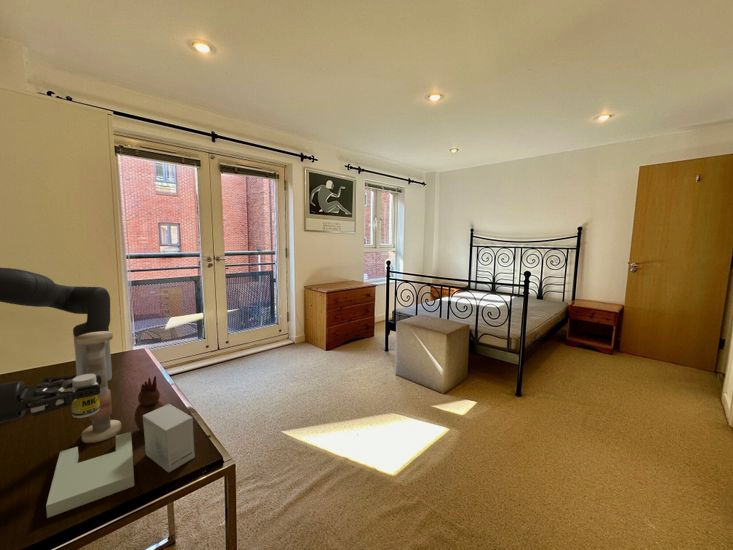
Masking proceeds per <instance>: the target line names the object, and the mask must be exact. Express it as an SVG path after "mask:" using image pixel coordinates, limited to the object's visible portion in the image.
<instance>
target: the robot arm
mask: <svg viewBox="0 0 733 550" xmlns="http://www.w3.org/2000/svg"><path fill="white" fill-rule="evenodd" d="M0 303H5V304H10V305H16V306H25V307H35V308H38V307H39V308H40V307H41V308H43V307H44V308H45V307H46V308H53V309H57V310H60V311H63V312H67V313H71V314H75V315H86V321H85V322H83V323H80V324H77V325H75V326H74V327H73V329H72V335H73V345H74V346H73V347H74V354H75V355H74V357H75V369H76V370H75V371H76V375H75V374H74V375H65V376H55V377H45V378H43V379H42V383H39V384H36V385H33V386H29V387H27V386H26V383H25V382H24V381H21V380H19V381H18V380H17V381H12V382H6V383H0V424H2V423H7V422H11V421H16V420H20V419H21V418H23V417H24V416H25V414H26V412H27V411H30V416H31V417H35V416H40V415H43V414H46V413H49V412H53V411H56V410H57V411H58V410H59V409H64V408H68V407H70V406H71V405H72V402H74V401H76V400H77V399H80V398H85V397H90V396H95V395H98V394H100V385H101V383H102V379H101V376H100V375H98V376H96V382H97V383H98V384H96V385H91V386H85V387H80V388H77V390H76V389H71V388H72V387H73V386H72V380H73V378H75V377H77V376H80V375H84V374H88V366H87V353H86V345H79V344H77V343H76V337H77V336H79V335H82V334H86V333H91V332H99V331H109V332H110V330H109V327H110V324H111V295H110V293H109V291H108V290H107V289H106V288H104V287H100V286H71V285H63V284H58V283H55V282H54V280H53V279H51V278H50V277H48V276H45V275H43V274H40V273H36V272H32V271H28V270H24V269H20V268H19V269H17V268H11V267H0ZM105 355H106V369H107V382H109V381H111V380H112V378H113V369H112V358H111V357H112V355H111V340H109V341H106V342H105Z"/></svg>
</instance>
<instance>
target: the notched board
mask: <svg viewBox="0 0 733 550" xmlns="http://www.w3.org/2000/svg"><path fill="white" fill-rule="evenodd" d="M132 443H133V441H132V431H128V432H125V433H121V434H118V435H117V434H116V435H115V451H112V452H109V453H106V454H103V455H99V456H96V457H93V458H89V459H87V460H83V461H79V456H80V455H79V446H75V447H72V448H68V449H65V450H60V451H59V455H58V459H57V462H56V466H55V470H54V475H53V478H52V481H51V485H50V490H49V493H48V497H47V502H46V505H45V509H46V518H47V519H48V518H50V517H51V518H52V517H54V516H56V515H59V514H62V513H64V512H68V511H70V510H73V509H77V508H78V507H80V506H84V505H86V504H90V503H92V502H95V501H98V500H100V499H103V498H105V497H107V496H111V495H114V494H115V493H116V494H117V493H118V492H122V491H124V490H127V489H129V488H132V487H135V475H134V474H135V473H134V472H135V471H134V460H133V444H132Z"/></svg>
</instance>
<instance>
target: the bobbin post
mask: <svg viewBox="0 0 733 550" xmlns="http://www.w3.org/2000/svg"><path fill="white" fill-rule="evenodd" d="M113 338H114V336H113V332H112V331H110V330H109V331H99V332H91V333H86V334H82V335H79V336H77V337H76V343H77V344H79V345H86V353H87V366H88V374H95V375H96V376H98V375H100V376H101V379H102V383H101V385H100V394H99V403H100V409H99V411H98V412H96V413H95V414H93V415H91V416H88V419H89V420H90V421H91V425H89V426H88V427H86V428H85V429H84V430H83V431H82V432H81V435H80V436H81V441H82V442H83V443H86V444H93V443H99V442H103V441H105V440H109V439H111V438H113V437H116V436H117V434H119V433H120V432H121V431H122V423H121V421H120V420H117V419H111V415H112V414H113V405H112V392H111V389H110V388H109V386H108V381H107V369H106V355H105V342H106V341H109V340H110V341H112V340H113Z"/></svg>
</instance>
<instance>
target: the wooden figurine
mask: <svg viewBox="0 0 733 550" xmlns="http://www.w3.org/2000/svg"><path fill="white" fill-rule="evenodd" d="M147 379H148V381H144V383H143V384H141V388H140V392H139V393H138V396H137V400H138V403H139V404H138V405H137V407H136V409H135V412H134V416H133V417H134V422H135V425H136V428H138V429H139V431H140V432H142V433H144V424H143V415H145V414H147V413H149V412H151V411H154V410H156V409H158V408H161V407H163V406H165V405H164V404H163V403H162V402H161V401H160V395H161V394H160V391H159V389H158V386H157V385H158V384H157V376H154V377H153V380H151V377H148V378H147Z"/></svg>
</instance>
